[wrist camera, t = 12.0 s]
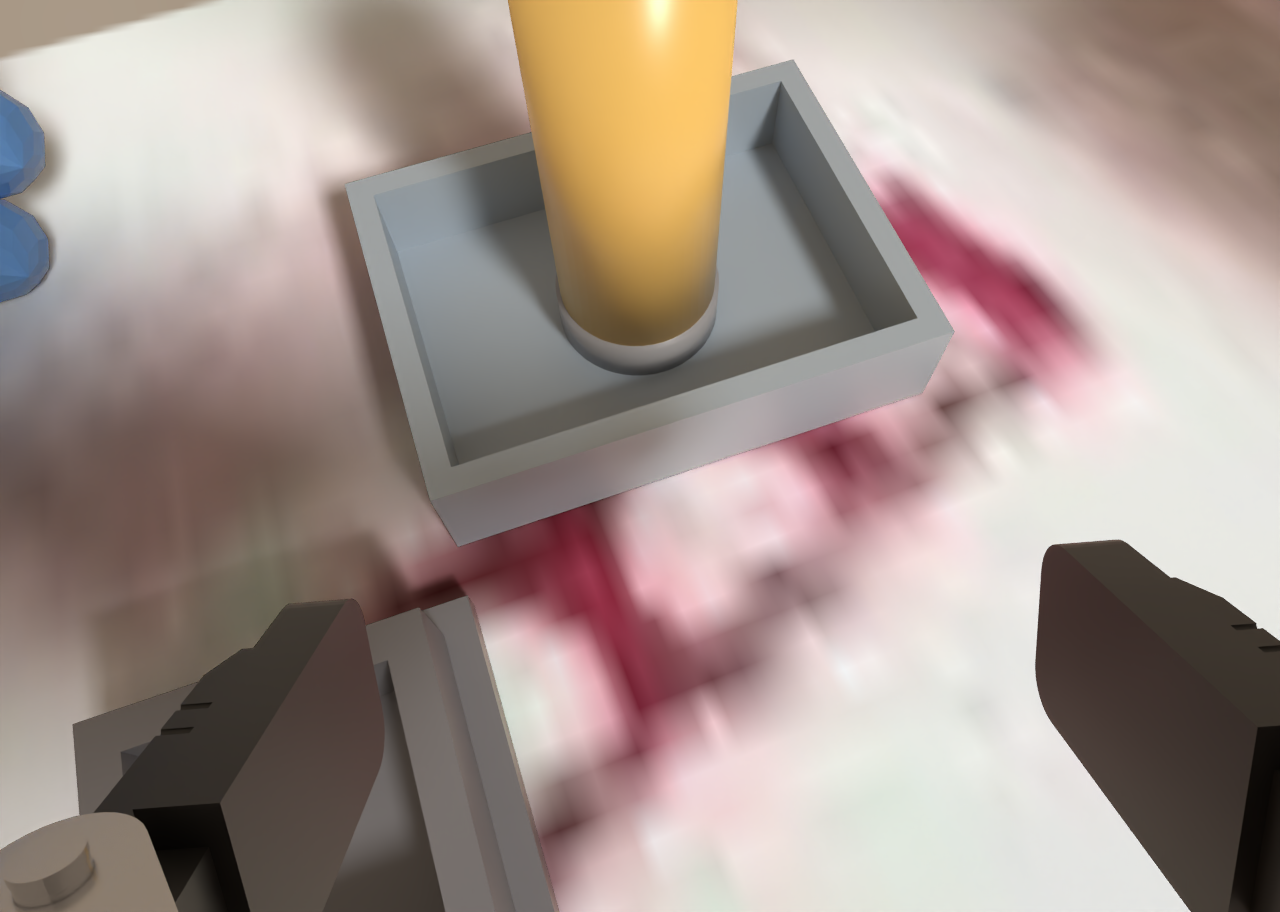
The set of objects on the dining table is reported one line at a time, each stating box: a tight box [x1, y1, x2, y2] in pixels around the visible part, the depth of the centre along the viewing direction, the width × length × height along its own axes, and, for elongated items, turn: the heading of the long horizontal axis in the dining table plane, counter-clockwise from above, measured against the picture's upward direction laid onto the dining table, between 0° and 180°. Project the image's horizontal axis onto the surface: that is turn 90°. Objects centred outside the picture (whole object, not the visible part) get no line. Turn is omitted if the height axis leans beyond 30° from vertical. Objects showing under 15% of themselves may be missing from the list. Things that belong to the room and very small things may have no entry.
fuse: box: [508, 0, 737, 376], centre depth 18 cm, size 4×4×12 cm
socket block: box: [73, 596, 559, 912], centre depth 17 cm, size 8×8×3 cm
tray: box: [345, 60, 955, 547], centre depth 23 cm, size 12×9×3 cm
